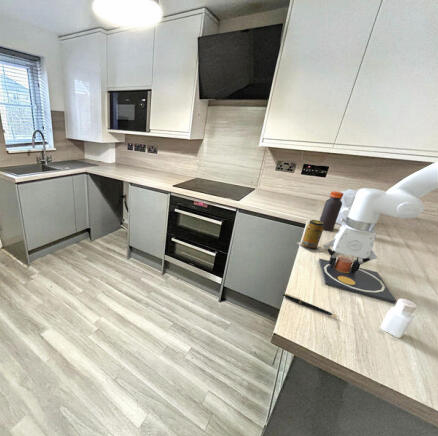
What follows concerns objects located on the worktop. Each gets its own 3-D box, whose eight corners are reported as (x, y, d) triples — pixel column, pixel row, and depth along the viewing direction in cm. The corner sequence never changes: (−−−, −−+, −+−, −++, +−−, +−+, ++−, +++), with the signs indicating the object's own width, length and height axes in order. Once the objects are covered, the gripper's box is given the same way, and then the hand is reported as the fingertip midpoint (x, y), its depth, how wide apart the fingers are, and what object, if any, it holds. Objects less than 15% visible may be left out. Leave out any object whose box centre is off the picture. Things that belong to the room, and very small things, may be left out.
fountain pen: (338, 317, 66) (339, 313, 66) (338, 320, 65) (339, 316, 65) (281, 295, 74) (282, 291, 74) (280, 297, 73) (282, 293, 73)
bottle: (316, 228, 126) (328, 192, 119) (318, 224, 131) (330, 190, 123) (331, 232, 122) (344, 195, 114) (333, 228, 126) (346, 192, 119)
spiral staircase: (329, 230, 134) (335, 217, 151) (371, 227, 121) (372, 213, 138) (321, 200, 132) (328, 190, 149) (363, 193, 119) (365, 183, 136)
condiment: (309, 242, 110) (317, 218, 106) (325, 251, 102) (334, 226, 98) (296, 243, 109) (303, 219, 104) (311, 252, 101) (319, 226, 97)
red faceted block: (347, 267, 88) (351, 258, 87) (350, 273, 85) (354, 264, 83) (333, 264, 90) (336, 255, 89) (335, 270, 87) (339, 260, 85)
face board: (376, 274, 87) (377, 271, 87) (395, 303, 72) (396, 300, 72) (318, 260, 95) (319, 258, 95) (324, 284, 80) (325, 281, 80)
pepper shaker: (404, 333, 62) (421, 305, 58) (399, 339, 60) (416, 310, 56) (384, 323, 65) (399, 295, 61) (378, 328, 63) (394, 300, 59)
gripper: (331, 222, 82) (315, 266, 88) (397, 234, 74) (374, 281, 81) (328, 216, 88) (313, 257, 94) (389, 226, 80) (368, 270, 87)
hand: (342, 268), depth 88 cm, fingers open, 5 cm apart
